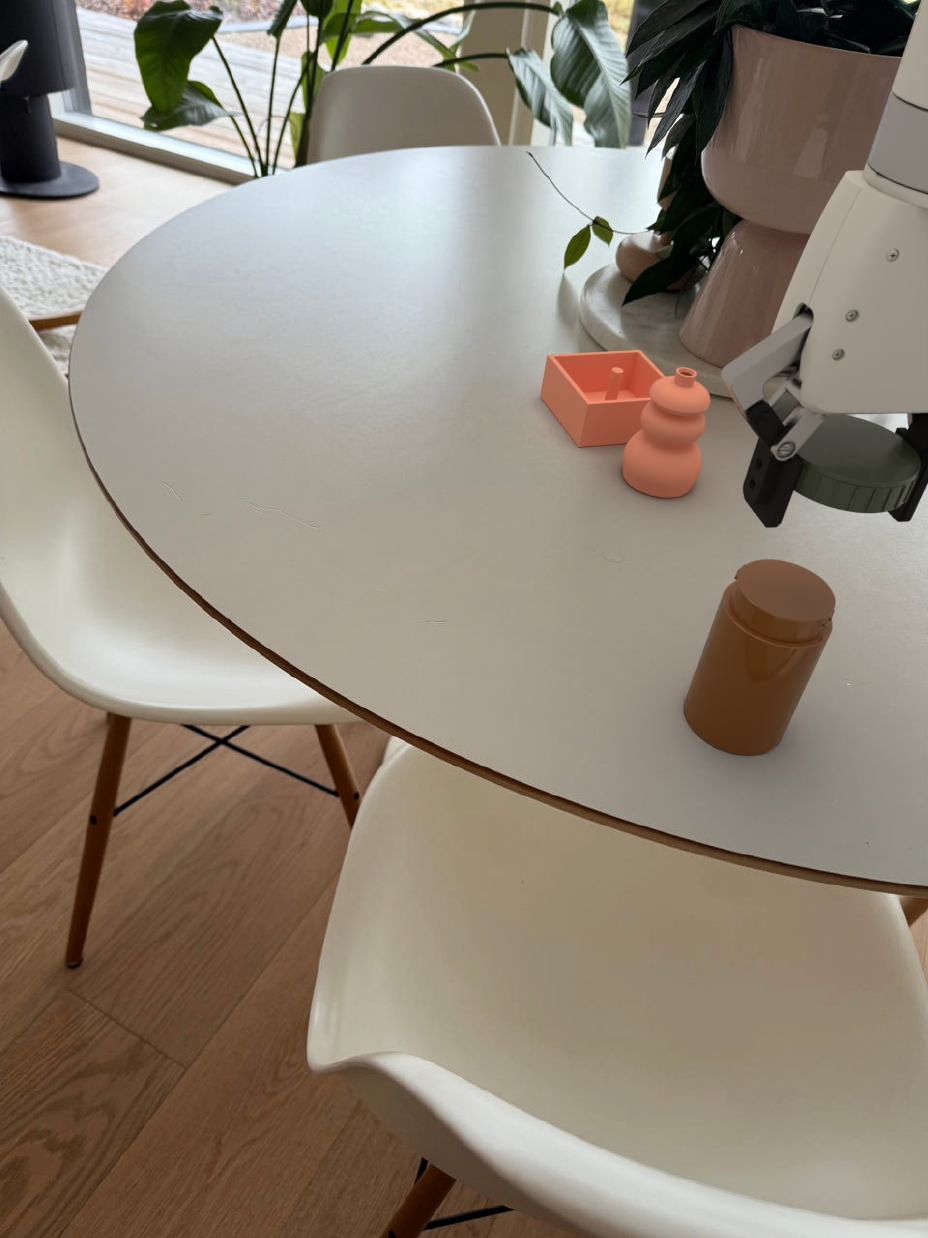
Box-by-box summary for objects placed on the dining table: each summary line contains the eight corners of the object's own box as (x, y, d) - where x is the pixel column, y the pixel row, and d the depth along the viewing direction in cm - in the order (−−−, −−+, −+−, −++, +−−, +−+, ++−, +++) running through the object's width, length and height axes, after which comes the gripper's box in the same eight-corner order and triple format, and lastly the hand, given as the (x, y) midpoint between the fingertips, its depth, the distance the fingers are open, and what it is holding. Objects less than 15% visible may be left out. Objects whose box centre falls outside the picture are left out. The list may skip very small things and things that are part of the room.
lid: (744, 465, 52) (753, 434, 51) (816, 428, 56) (827, 399, 55) (864, 530, 48) (878, 499, 47) (932, 486, 52) (947, 456, 51)
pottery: (539, 396, 94) (558, 294, 87) (630, 390, 97) (654, 291, 90) (622, 505, 81) (650, 396, 75) (723, 494, 84) (758, 388, 78)
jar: (792, 706, 65) (851, 579, 58) (771, 771, 61) (832, 641, 54) (699, 669, 67) (745, 541, 60) (670, 729, 63) (717, 598, 56)
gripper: (1079, 139, 47) (928, 468, 58) (739, 120, 43) (648, 476, 54) (1200, 193, 41) (1006, 544, 53) (822, 176, 37) (701, 560, 49)
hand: (825, 508), depth 53 cm, fingers closed on lid, 7 cm apart
